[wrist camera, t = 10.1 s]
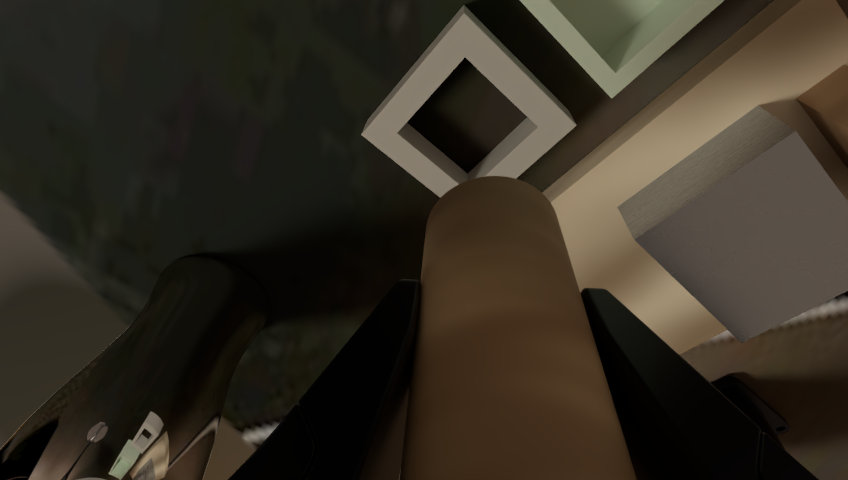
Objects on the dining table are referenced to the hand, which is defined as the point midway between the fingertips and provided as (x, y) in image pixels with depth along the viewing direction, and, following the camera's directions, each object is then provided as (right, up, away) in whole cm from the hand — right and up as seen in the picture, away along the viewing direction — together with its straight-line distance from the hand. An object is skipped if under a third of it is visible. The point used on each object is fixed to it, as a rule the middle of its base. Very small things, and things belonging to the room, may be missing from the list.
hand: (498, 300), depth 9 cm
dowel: (0, +1, +2) cm, 2 cm away
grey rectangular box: (+12, +2, +11) cm, 16 cm away
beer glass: (-13, -2, +17) cm, 22 cm away
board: (+11, +2, +12) cm, 17 cm away
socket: (0, +6, +10) cm, 12 cm away
